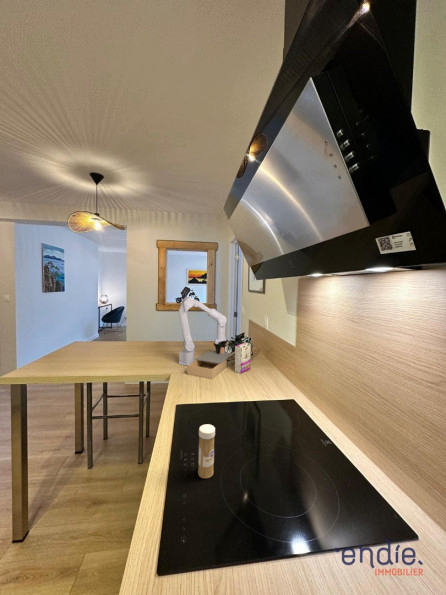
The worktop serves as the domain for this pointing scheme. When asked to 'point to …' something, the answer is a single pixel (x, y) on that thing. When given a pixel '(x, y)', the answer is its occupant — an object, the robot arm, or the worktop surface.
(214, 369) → the carton
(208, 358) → the carton lid
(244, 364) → the candy bar box
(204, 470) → the sprinkles bottle
